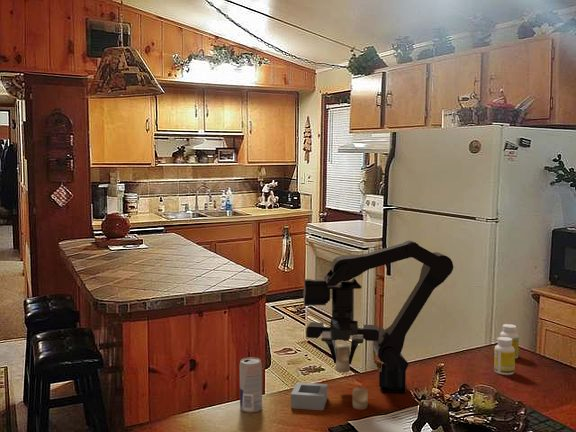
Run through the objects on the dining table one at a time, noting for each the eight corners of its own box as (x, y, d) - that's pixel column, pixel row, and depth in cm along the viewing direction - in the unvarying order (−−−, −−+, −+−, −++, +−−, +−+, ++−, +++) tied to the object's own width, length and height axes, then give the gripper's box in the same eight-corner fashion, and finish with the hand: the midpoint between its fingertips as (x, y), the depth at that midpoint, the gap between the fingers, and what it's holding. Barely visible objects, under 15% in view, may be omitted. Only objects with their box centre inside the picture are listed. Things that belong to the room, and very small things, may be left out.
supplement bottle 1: (516, 360, 172) (517, 328, 172) (497, 357, 175) (498, 326, 174) (519, 355, 177) (520, 324, 176) (501, 352, 180) (502, 322, 179)
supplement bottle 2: (518, 373, 161) (519, 339, 161) (506, 376, 158) (507, 342, 158) (501, 367, 166) (502, 334, 165) (490, 371, 163) (490, 338, 162)
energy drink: (250, 402, 142) (249, 355, 141) (266, 408, 139) (266, 360, 138) (235, 409, 138) (234, 361, 137) (251, 415, 134) (251, 365, 134)
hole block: (327, 397, 145) (327, 384, 144) (323, 410, 137) (323, 396, 137) (296, 395, 146) (296, 382, 146) (290, 408, 138) (290, 394, 138)
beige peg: (350, 368, 151) (350, 344, 150) (349, 373, 147) (349, 348, 147) (336, 367, 152) (336, 343, 151) (335, 372, 148) (335, 347, 148)
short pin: (368, 403, 140) (368, 388, 140) (366, 410, 137) (366, 394, 137) (353, 402, 141) (353, 387, 141) (351, 408, 138) (351, 392, 137)
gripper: (302, 310, 142) (302, 371, 143) (377, 313, 139) (377, 376, 140) (309, 301, 153) (309, 357, 154) (379, 303, 149) (378, 361, 151)
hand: (342, 363), depth 149 cm, fingers closed on beige peg, 4 cm apart
